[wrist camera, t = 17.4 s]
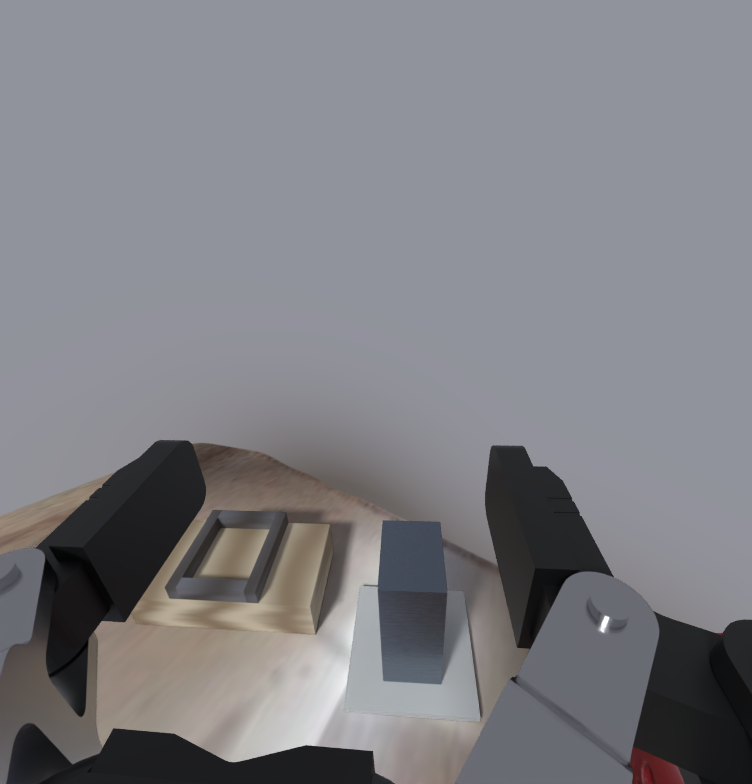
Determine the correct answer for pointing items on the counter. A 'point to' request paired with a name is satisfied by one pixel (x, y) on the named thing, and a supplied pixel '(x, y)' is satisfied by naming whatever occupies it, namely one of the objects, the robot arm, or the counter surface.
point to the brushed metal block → (412, 601)
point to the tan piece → (242, 575)
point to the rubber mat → (412, 698)
